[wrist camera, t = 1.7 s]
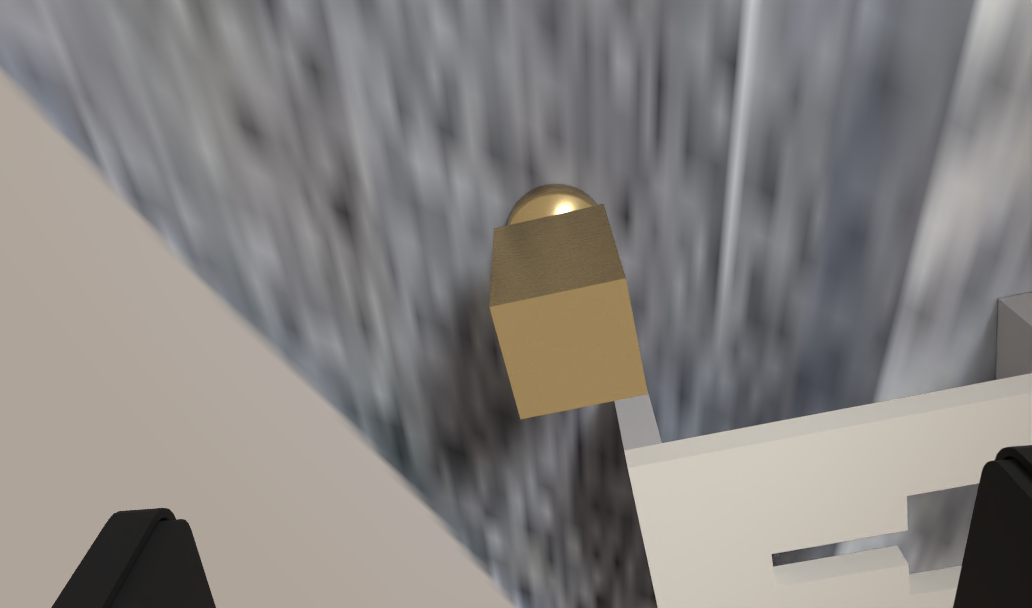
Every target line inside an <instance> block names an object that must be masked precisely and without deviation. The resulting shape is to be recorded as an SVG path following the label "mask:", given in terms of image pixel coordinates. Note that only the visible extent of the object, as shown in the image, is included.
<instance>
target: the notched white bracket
mask: <svg viewBox="0 0 1032 608" xmlns="http://www.w3.org/2000/svg"><path fill="white" fill-rule="evenodd" d="M647 392H648V391H647ZM614 402H615V407H616V412H617V417H618V422H619V427H620V432H621V437H622V442H623V447H624V452H625V457H626V462H627V467H628V472H629V476H630V481H631V486H632V490H633V495H634V500H635V504H636V509H637V514H638V518H639V523H640V527H641V532H642V537H643V541H644V546H645V551H646V555H647V560H648V565H649V569H650V574H651V579H652V583H653V588H654V592H655V597H656V602H657V606H658V608H953V605H954V600H955V595H956V591H957V586H958V581H959V577H960V572H961V567H962V565H960V566H954V567H949V568H943V569H937V570H931V571H925V572H919V573H913V574H909V564H908V563H907V561H906V559H905V558H904V556H903V554H902V552H901V551H900V549H899V547H898V546H897V545H896V546H890V547H885V548H879V549H873V550H867V551H861V552H855V553H850V554H844V555H838V556H832V557H826V558H821V559H815V560H809V561H803V562H797V563H792V564H786V565H780V566H774V567H773V562H772V554H775V553H781V552H786V551H792V550H798V549H804V548H809V547H815V546H821V545H827V544H832V543H838V542H844V541H850V540H855V539H861V538H867V537H873V536H878V535H884V534H890V533H896V532H902V531H907V530H908V517H907V496H911V495H916V494H922V493H928V492H933V491H939V490H944V489H950V488H956V487H961V486H967V485H973V484H978V483H979V482H980V477H981V473H982V470H983V467H984V465H985V464H986V463H987V462H989V461H994V460H995V458H996V455H997V453H998V452H999V451H1000V450H1001V449H1002V448H1005V447H1012V446H1026V445H1032V292H1029V293H1024V294H1019V295H1014V296H1009V297H1004V298H999V299H998V325H997V357H996V380H993V381H988V382H983V383H977V384H972V385H967V386H961V387H956V388H951V389H946V390H940V391H935V392H930V393H925V394H919V395H914V396H909V397H904V398H898V399H893V400H888V401H882V402H877V403H872V404H867V405H861V406H856V407H851V408H846V409H840V410H835V411H830V412H824V413H819V414H814V415H809V416H803V417H798V418H793V419H788V420H782V421H777V422H772V423H767V424H761V425H756V426H751V427H745V428H740V429H735V430H730V431H724V432H719V433H714V434H709V435H703V436H698V437H693V438H687V439H682V440H677V441H672V442H666V443H662V442H661V439H660V435H659V431H658V428H657V424H656V420H655V417H654V413H653V409H652V406H651V402H650V398H649V395H648V394H647V395H642V396H637V397H632V398H627V399H621V400H616V401H614Z"/></svg>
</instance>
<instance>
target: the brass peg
mask: <svg viewBox="0 0 1032 608" xmlns="http://www.w3.org/2000/svg"><path fill="white" fill-rule="evenodd" d="M489 308H490V312H491V315H492V319H493V322H494V326H495V330H496V333H497V337H498V340H499V344H500V347H501V351H502V355H503V358H504V362H505V365H506V369H507V373H508V376H509V380H510V383H511V387H512V391H513V394H514V398H515V401H516V405H517V409H518V412H519V416H520V419H525V418H530V417H535V416H540V415H545V414H550V413H556V412H561V411H566V410H571V409H576V408H581V407H586V406H591V405H596V404H601V403H606V402H611V401H616V400H621V399H627V398H632V397H637V396H642V395H647V394H648V392H647V387H646V381H645V376H644V371H643V366H642V361H641V355H640V350H639V345H638V340H637V335H636V329H635V324H634V319H633V314H632V308H631V303H630V298H629V293H628V288H627V282H626V278H625V274H624V271H623V268H622V264H621V261H620V258H619V254H618V251H617V248H616V244H615V241H614V237H613V234H612V231H611V227H610V224H609V221H608V217H607V214H606V211H605V207H604V204H601V205H597V204H596V203H595V202H594V200H593V199H592V198H591V197H590V196H589V195H587V194H586V193H584V192H583V191H581V190H579V189H577V188H575V187H572V186H568V185H562V184H550V185H544V186H541V187H538V188H536V189H533V190H531V191H530V192H528V193H527V194H525V195H524V196H523V197H522V198H521V199H520V200H519V201H518V202H517V203H516V204H515V206H514V207H513V209H512V211H511V212H510V215H509V217H508V221H507V226H502V227H498V228H494V237H493V253H492V270H491V287H490V304H489Z"/></svg>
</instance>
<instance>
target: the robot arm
mask: <svg viewBox="0 0 1032 608" xmlns="http://www.w3.org/2000/svg"><path fill="white" fill-rule="evenodd" d="M52 608H216V607H215V604H214V601H213V598H212V594H211V591H210V588H209V585H208V581H207V578H206V575H205V572H204V569H203V566H202V563H201V559H200V556H199V553H198V550H197V547H196V543H195V540H194V537H193V534H192V531H191V528H190V526H189V524H188V522H187V521H186V520H183V519H179V520H176V518H175V516H174V514H173V513H172V512H171V511H170V510H169V509H166V508H157V509H144V510H130V511H119V512H117V513H114V514H113V515H112V516H111V518H110V519H109V520H108V521H107V523H106V524H105V526H104V527H103V529H102V530H101V532H100V533H99V535H98V537H97V538H96V540H95V541H94V543H93V544H92V546H91V548H90V549H89V550H88V552H87V554H86V555H85V557H84V558H83V560H82V561H81V563H80V565H79V566H78V567H77V569H76V570H75V572H74V574H73V575H72V577H71V578H70V580H69V581H68V583H67V584H66V586H65V588H64V589H63V591H62V592H61V594H60V595H59V597H58V598H57V600H56V601H55V603H54V604H53V606H52ZM953 608H1032V445H1026V446H1012V447H1005V448H1002V449H1001V450H1000V451H999V452H998V453H997V455H996V458H995V460H994V461H989V462H987V463H986V464H985V465H984V467H983V470H982V473H981V477H980V482H979V487H978V492H977V496H976V501H975V506H974V510H973V515H972V520H971V525H970V529H969V534H968V539H967V544H966V548H965V553H964V558H963V562H962V567H961V572H960V577H959V581H958V586H957V591H956V595H955V600H954V605H953Z"/></svg>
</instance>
